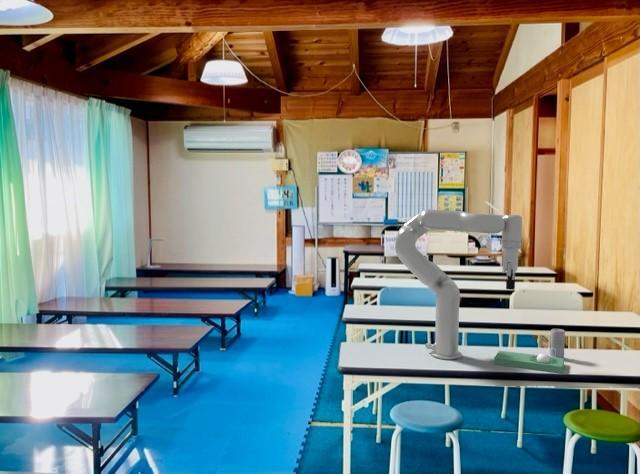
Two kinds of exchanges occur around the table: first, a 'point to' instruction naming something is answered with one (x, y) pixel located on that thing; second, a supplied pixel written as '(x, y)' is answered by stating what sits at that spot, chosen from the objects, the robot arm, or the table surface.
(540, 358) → the ball
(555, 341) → the energy drink
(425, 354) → the table surface
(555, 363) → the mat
